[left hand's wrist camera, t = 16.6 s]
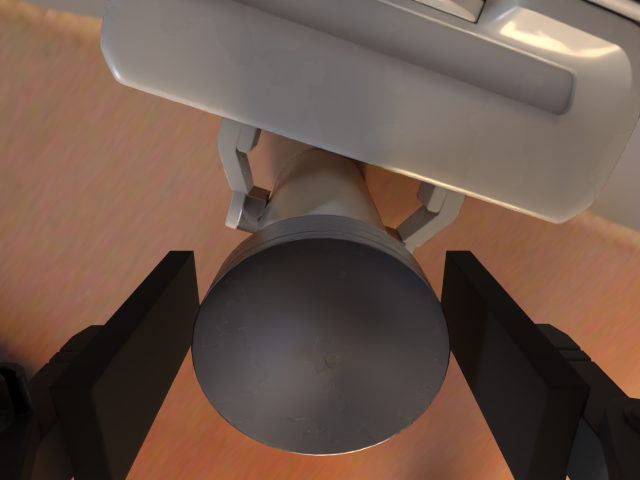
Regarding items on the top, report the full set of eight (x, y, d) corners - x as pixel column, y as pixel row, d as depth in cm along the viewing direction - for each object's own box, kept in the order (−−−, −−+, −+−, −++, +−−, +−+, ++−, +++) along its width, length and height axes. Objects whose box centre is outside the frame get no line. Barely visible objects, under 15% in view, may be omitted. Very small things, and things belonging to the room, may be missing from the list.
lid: (383, 430, 14) (392, 479, 12) (186, 377, 13) (167, 421, 11) (471, 255, 11) (497, 285, 10) (241, 180, 11) (227, 198, 9)
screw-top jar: (277, 237, 27) (226, 424, 12) (273, 149, 25) (206, 246, 10) (364, 236, 27) (417, 422, 12) (367, 148, 25) (433, 244, 10)
